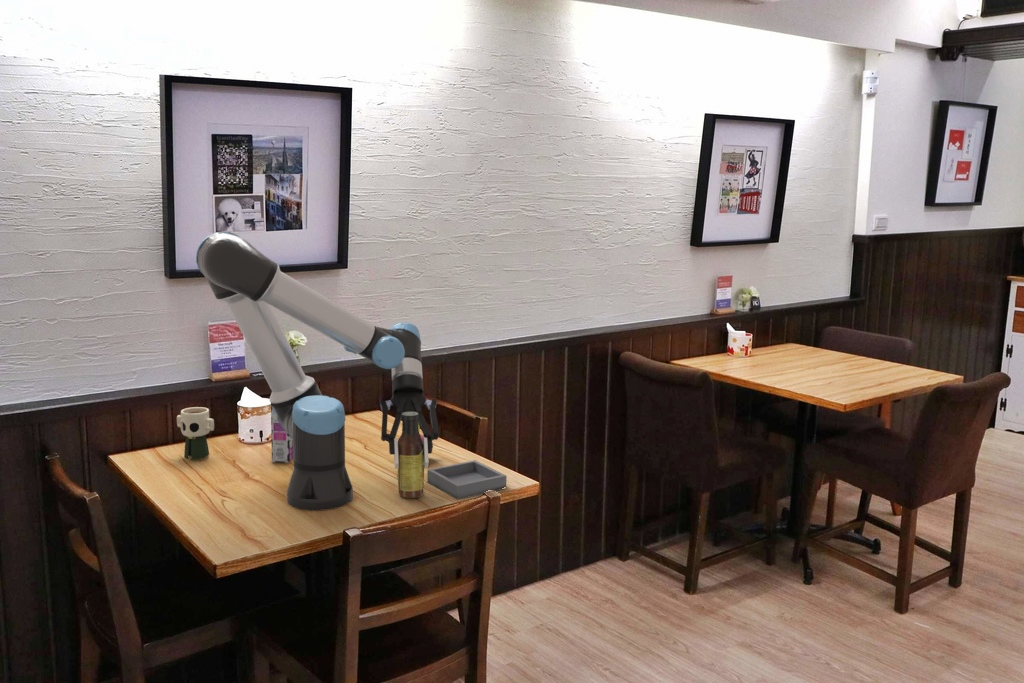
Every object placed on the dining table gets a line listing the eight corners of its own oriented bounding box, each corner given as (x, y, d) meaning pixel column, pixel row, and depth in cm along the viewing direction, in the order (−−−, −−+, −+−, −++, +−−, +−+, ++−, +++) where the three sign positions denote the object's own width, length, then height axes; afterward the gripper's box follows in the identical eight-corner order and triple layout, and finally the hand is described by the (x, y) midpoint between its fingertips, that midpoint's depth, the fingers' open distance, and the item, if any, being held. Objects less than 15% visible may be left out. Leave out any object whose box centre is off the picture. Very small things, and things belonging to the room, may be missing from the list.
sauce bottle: (428, 496, 217) (430, 415, 214) (405, 501, 214) (405, 418, 210) (415, 488, 223) (416, 408, 219) (392, 492, 219) (392, 411, 215)
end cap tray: (457, 499, 216) (457, 486, 216) (427, 482, 228) (427, 469, 227) (506, 488, 224) (506, 475, 224) (475, 472, 236) (475, 460, 235)
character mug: (170, 460, 240) (168, 411, 238) (187, 452, 247) (184, 405, 244) (207, 464, 237) (205, 415, 235) (222, 456, 244) (220, 408, 242)
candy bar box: (290, 463, 239) (289, 402, 236) (271, 463, 239) (269, 402, 236) (299, 450, 250) (297, 392, 247) (280, 450, 250) (279, 391, 247)
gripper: (445, 388, 231) (451, 471, 218) (367, 389, 227) (369, 474, 214) (447, 372, 224) (454, 457, 212) (368, 373, 221) (370, 459, 208)
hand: (411, 465), depth 213 cm, fingers closed on sauce bottle, 6 cm apart
